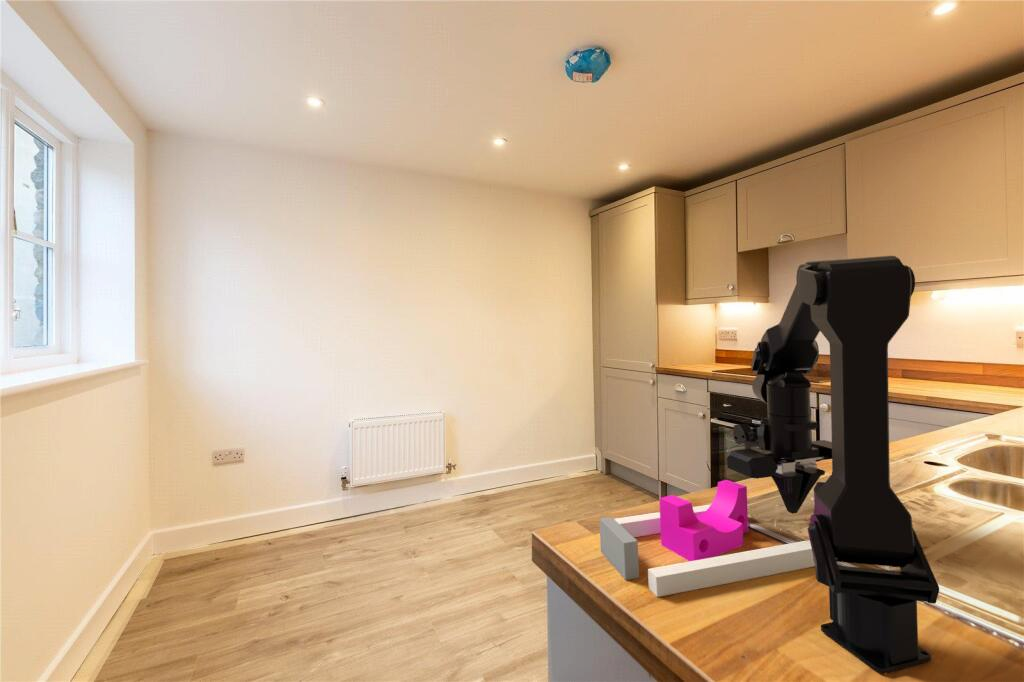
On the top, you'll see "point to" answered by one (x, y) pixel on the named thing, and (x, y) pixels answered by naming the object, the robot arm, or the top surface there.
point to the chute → (696, 573)
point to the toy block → (705, 523)
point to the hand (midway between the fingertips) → (792, 512)
